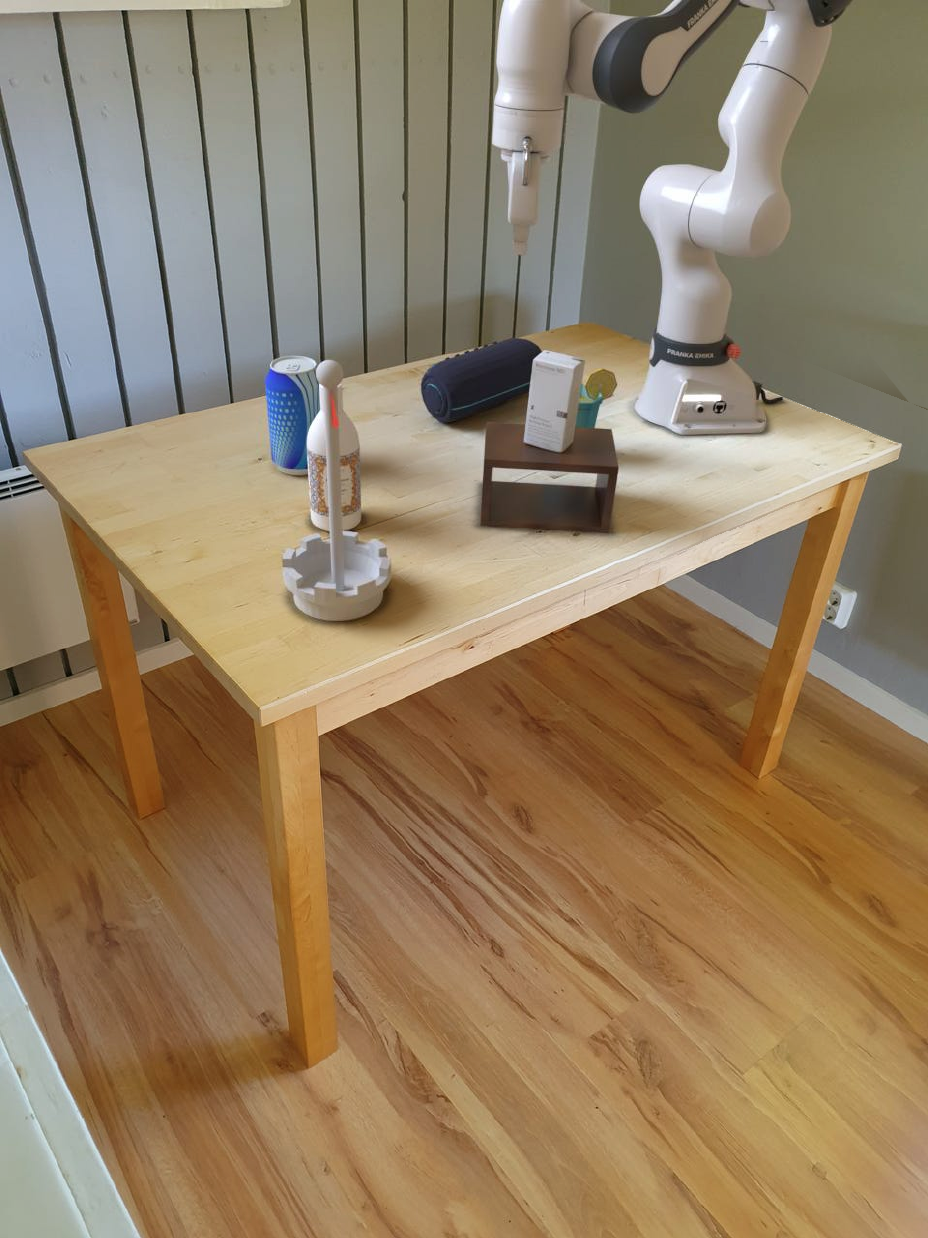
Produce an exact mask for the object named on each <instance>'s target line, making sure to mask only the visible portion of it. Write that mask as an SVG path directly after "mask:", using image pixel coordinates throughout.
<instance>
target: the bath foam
mask: <svg viewBox="0 0 928 1238" xmlns="http://www.w3.org/2000/svg"><path fill="white" fill-rule="evenodd" d="M337 391H338V419H339V446H340V474H341V501H342V529H343V531H350V530H352V529H354V528H356V527H357V526H358V525H359V524H360V522H361V521H362V491H361V490H362V489H361V488H362V487H361V486H362V485H361V484H362V483H361V451H360V450H361V449H360V448H361V447H360V438H359V433H358V431H357V429H356V426H355V424H354V422H353V421H352V420H351V418H350V417H349V416H348V414H347V413H346V411H345V410H344V397H343V395H344V393H343V384H342V382H341V383H340V384H339V385H338V386H337ZM319 394H320V411H319V413H318V414H317V416H316V417H315V419H314V421H313V422H312V424H311V426H310V428H309V431H308V436H307V461H308V475H307V476H308V477H307V478H308V492H309V494H308V495H309V508H310V519H311V520H310V521H311V522H312V524H313V525H314V526H315V527H317V528H318V529H320V530H322V531H326V532H330V527H329V505H328V483H327V461H326V439H325V417H324V395H323V386H322V385H321V384H319Z"/></svg>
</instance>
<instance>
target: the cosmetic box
mask: <svg viewBox="0 0 928 1238" xmlns="http://www.w3.org/2000/svg"><path fill="white" fill-rule="evenodd" d="M585 365H586V360H585V359H583V358H580V357H576V356H573V355H570V354H565V353H562V352H555V351H551V350H548V349H545V350H542V353H540V354H539V355H538V356H537V357H536V358H535V359H534V360H533V364H532V374H531V382H530V391H529V392H528V398H527V399H528V401H527V409H526V417H525V424H526V426H525V434H524V443H527V444H530V445H534V446H537V447H540V448H544V449H548V450H551V451H555V452H563V451H564V450H565V449H566V448H568V447H569V445H570V444H571V443H572V442H573V439H574V431H575V425H576V418H577V411H578V405H579V398H580V391H581V384H583V376H584V371H585Z"/></svg>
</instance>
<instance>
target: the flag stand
mask: <svg viewBox="0 0 928 1238" xmlns="http://www.w3.org/2000/svg"><path fill="white" fill-rule="evenodd" d="M343 369H344V368H343V366H342V365H341V364H340V363H339V362H338V361H336V360H333V359H325V360H322V361H321V362H320V363H319V364H317V370H316V378H317V380H318V382H319V383H320V384H321V385H322V386H323V395H324V417H325V439H326V461H327V483H328V505H329V527H330V531H329V538H327V539H326V538H325V539H322V536H321V534H320V533H319V532H316V533H312V534H309V535H306V536H304V537H302V538H300V547H298V548H296V549H295V548H291V547H287V549H286V550H285V551H284V552H283V555H282V557H281V558H282V559H281V561H282V562H281V563H282V575H283V582H284V584H285V587H286V588H287V589H288V590H289V591H290V593H292V594H293V602H294V604H295V606H296V607H297V608H298V609H299V611H301V612H302V613H303V614H305V615H307V616H309V617H311V618H315V619H317V620H323V621H328V622H343V621H350V620H355V619H359V618H362V617H364V616H367V615H369V614H371V613H372V612H374V611H375V610H376V609H377V608H378V607H379V606H380V605H381V602H382V601H383V598H384V597H383V596H384V590H385V589H386V588H387V587H388V585H389V583H390V581H391V579H392V557H389V556H388V548H387V546H386V545H385V544H384V543H383V542H382V541H381V540H379V539H377V538H373V539H371V540H369V541H368V542H366V541H362V540H359V532H356V531H350V530H346V531H343V529H342V501H341V474H340V446H339V419H338V391H337V386H338V385H339V384H340V383H342V382H343V381H344V380H343V379H344V375H345V374H344V370H343Z"/></svg>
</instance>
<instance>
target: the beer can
mask: <svg viewBox="0 0 928 1238" xmlns="http://www.w3.org/2000/svg"><path fill="white" fill-rule="evenodd" d="M269 367H270V368H269V370H268V372H267V374H266V376H265V378H264V386H265V397H266V399H265V400H266V410H267V419H268V420H267V421H268V433H269V434H268V435H269V444H270V457H271V461H272V463H273V464H274V465H275V466H276V467H277V469H278V470H279V471H280V472H281V473H284V474H286V475H290V476H308V461H307V436H308V431H309V428H310V426H311V424H312V422H313V421H314V419H315V417H316V416H317V414H318V413H319V411H320V394H319V384H320V383H319V382H318V380H317V378H316V370H317V367H318V364H317V361H316V360H314V358H311V357H308V356H304V355H303V356H302V355H285V356H281V357H277V358H275V359H273V360H272V361H271V362H270V363H269Z"/></svg>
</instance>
